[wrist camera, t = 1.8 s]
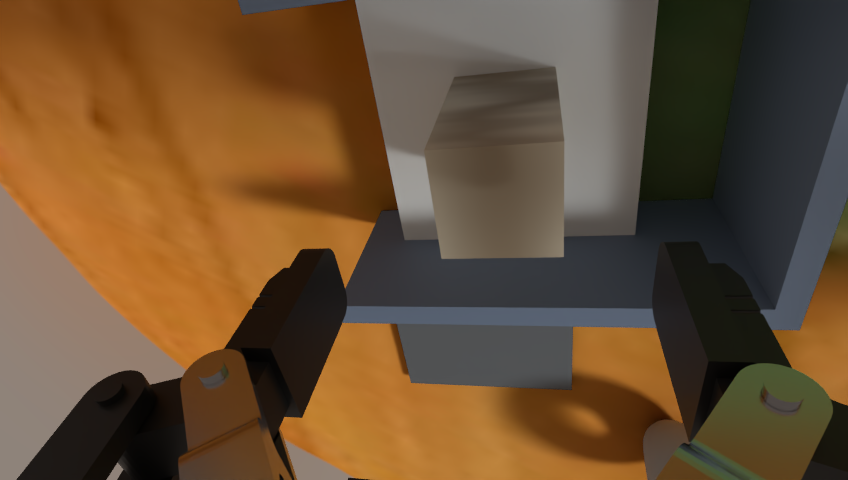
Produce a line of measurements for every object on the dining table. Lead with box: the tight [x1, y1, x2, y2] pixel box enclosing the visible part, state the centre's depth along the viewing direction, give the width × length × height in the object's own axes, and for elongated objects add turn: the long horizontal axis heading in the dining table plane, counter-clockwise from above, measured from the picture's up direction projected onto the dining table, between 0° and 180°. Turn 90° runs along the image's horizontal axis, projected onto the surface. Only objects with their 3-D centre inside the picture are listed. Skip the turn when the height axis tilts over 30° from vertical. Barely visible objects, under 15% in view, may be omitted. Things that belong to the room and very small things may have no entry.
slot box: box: [238, 0, 848, 330], centre depth 20 cm, size 18×14×8 cm
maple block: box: [424, 67, 564, 259], centre depth 18 cm, size 4×4×7 cm
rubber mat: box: [397, 324, 573, 390], centre depth 32 cm, size 11×11×1 cm
